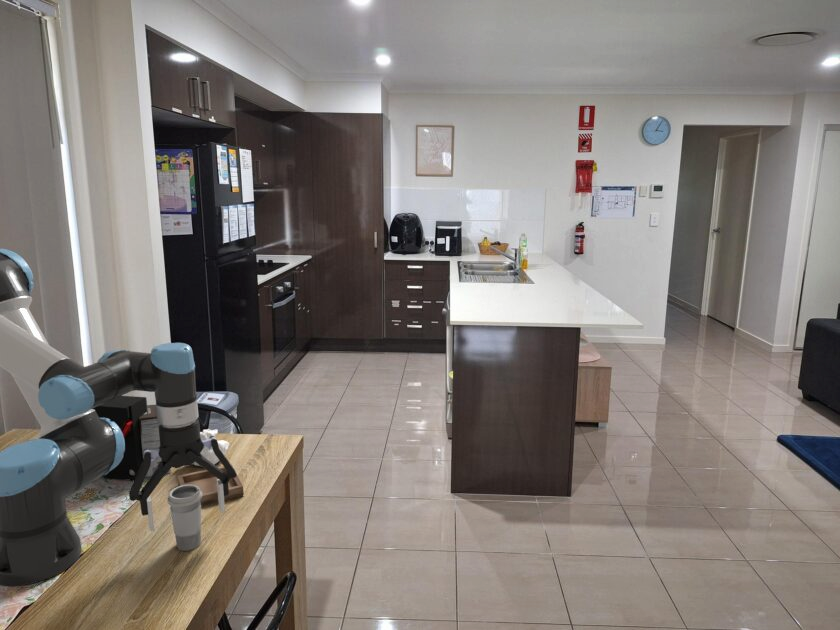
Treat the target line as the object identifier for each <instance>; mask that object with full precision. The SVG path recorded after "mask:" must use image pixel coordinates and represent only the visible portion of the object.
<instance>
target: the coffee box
mask: <svg viewBox="0 0 840 630" xmlns="http://www.w3.org/2000/svg"><path fill="white" fill-rule="evenodd" d="M147 408H148V410H147V412H146V413H145V414H143V415H142V416H140V417H139V422H140V433H141V444H142V454H143V450H144V449H146V448H148V449H149V450H158V449H159V447H160V438H159V428H158V427H159V425H160V424H159V423H158V419H157V409H156V404H147ZM162 460H163V459H162V458H160V457H159V456H157V457H156V458H155V460H154V461H153V462H151V465H150V468H149V470H148V473H147V475H146V477H145V478H148V477H150V478H151V476H152V475H153V474H154V472H155V471H156V470H157V468H158V467H159V465H160V463H161V461H162ZM171 472H172V471H171V469H170V470H169V471H168V473H166V474H171ZM166 474H165V475H166Z"/></svg>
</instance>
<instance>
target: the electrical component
mask: <svg viewBox="0 0 840 630" xmlns="http://www.w3.org/2000/svg"><path fill="white" fill-rule="evenodd" d="M147 398H148V397H145V396H130V395H122V396H119V397H117V398H115V399H113V400H110V401H108V402H105V403H103V404H101V405H99V406H97V407H94V408H92V409H94V410H95V411H96V413H97V415H98V416H99V418H108V419H110V420H111V422H115V423H116V424H117V425H118V426H119V428H120V429H121V431H122V434H123V437H124V441H125V451H124V453H123V458H122V460H121V462H120V463H119V464H118V466H116V467H115V468H114V469H112V470H111V471H109V472H108V474H106V475H105V476H103V477H101V478H100V479H109V480H119V481H120V480H121V481H122V480H123V481H132V482H134V479H135V477H136V475H137V472H138V470H139V468H140V465H141V463H142V461H143V454H142V444H141V433H140V422H139V417H140V416H142V415H143V414H145V413H146V412H147V410H148V408H147V405H148V399H147Z"/></svg>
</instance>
